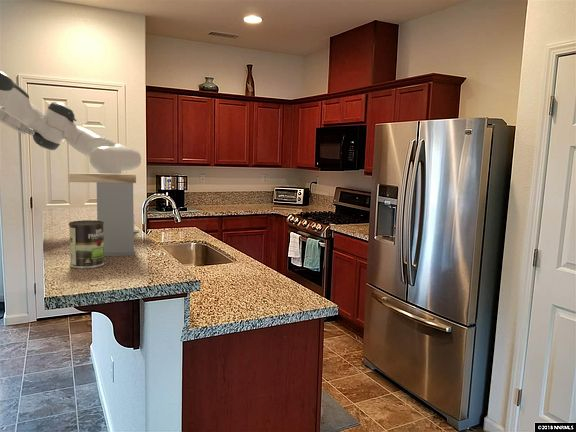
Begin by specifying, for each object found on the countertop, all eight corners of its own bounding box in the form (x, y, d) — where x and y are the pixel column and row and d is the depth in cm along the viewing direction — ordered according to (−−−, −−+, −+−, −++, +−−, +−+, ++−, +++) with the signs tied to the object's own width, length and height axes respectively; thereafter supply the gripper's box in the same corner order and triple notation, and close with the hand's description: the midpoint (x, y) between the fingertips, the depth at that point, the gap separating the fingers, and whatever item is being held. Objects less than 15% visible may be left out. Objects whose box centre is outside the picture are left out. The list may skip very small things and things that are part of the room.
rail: (69, 181, 157) (69, 172, 157) (135, 182, 164) (135, 174, 164) (68, 182, 154) (68, 173, 153) (136, 183, 161) (135, 174, 161)
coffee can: (111, 263, 149) (110, 221, 147) (87, 270, 140) (86, 225, 138) (87, 259, 153) (86, 219, 151) (62, 266, 143) (61, 223, 141)
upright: (98, 251, 166) (96, 181, 162) (134, 249, 170) (134, 181, 167) (96, 256, 158) (94, 183, 154) (135, 255, 162) (134, 183, 158)
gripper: (1, 126, 164) (35, 145, 165) (-32, 107, 144) (6, 128, 145) (11, 112, 165) (44, 130, 166) (-21, 91, 145) (17, 112, 146)
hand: (26, 129), depth 155 cm, fingers open, 8 cm apart
